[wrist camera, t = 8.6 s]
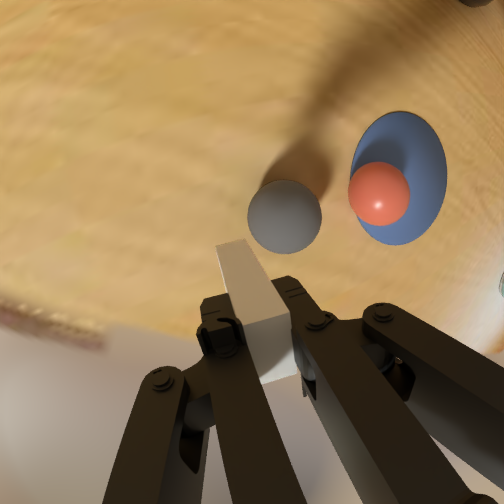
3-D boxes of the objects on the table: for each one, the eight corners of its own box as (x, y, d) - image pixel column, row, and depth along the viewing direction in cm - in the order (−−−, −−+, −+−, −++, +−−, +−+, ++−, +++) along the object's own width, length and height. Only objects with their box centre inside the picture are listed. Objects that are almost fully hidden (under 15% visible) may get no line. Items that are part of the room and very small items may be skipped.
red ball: (340, 160, 25) (396, 156, 24) (346, 217, 27) (399, 212, 26) (351, 169, 20) (418, 165, 19) (356, 238, 22) (419, 232, 21)
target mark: (441, 113, 25) (443, 113, 25) (444, 229, 30) (445, 229, 30) (341, 113, 23) (342, 113, 22) (354, 259, 28) (355, 260, 28)
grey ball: (229, 192, 19) (257, 175, 24) (242, 265, 22) (266, 236, 26) (311, 188, 17) (323, 172, 22) (317, 268, 20) (328, 237, 24)
